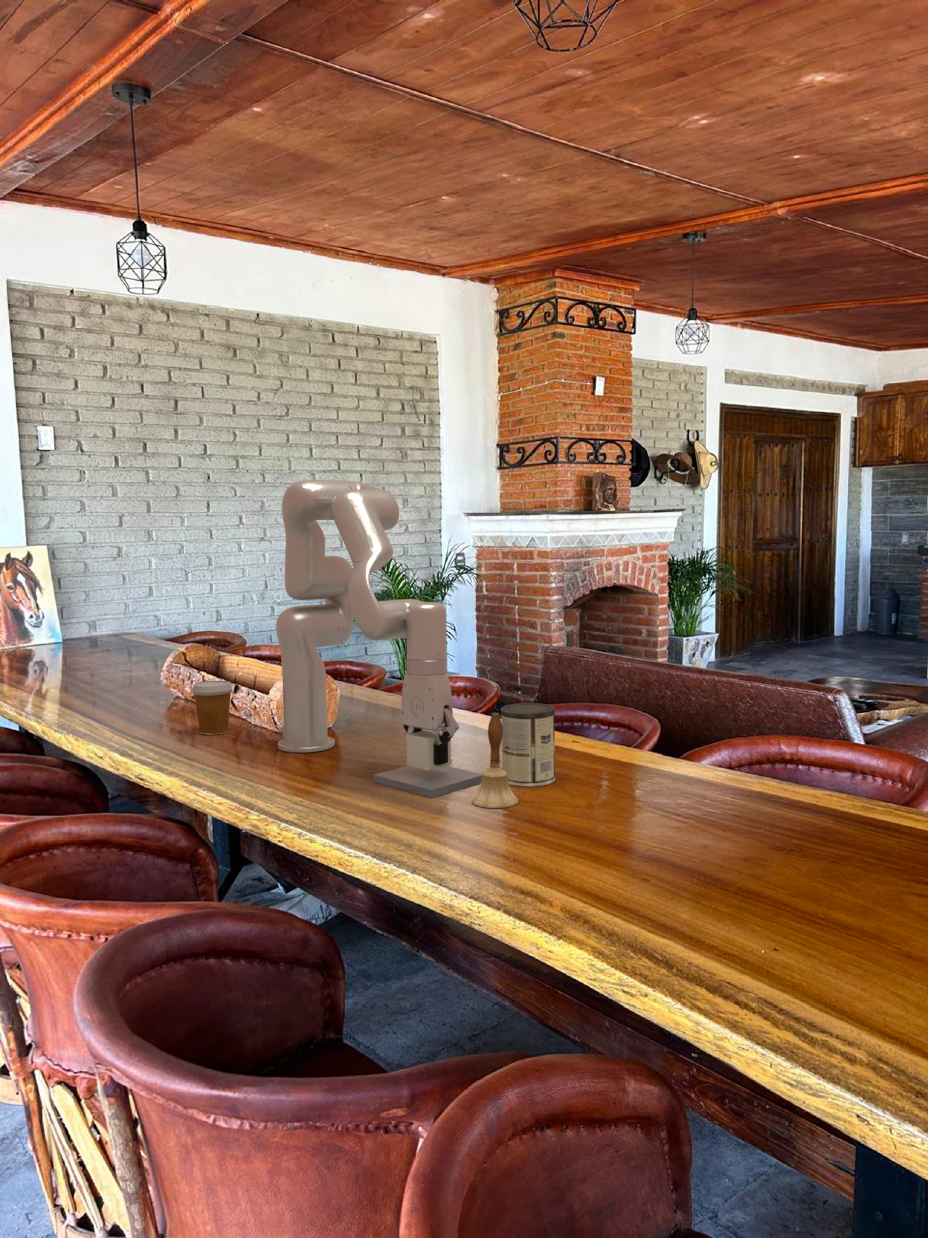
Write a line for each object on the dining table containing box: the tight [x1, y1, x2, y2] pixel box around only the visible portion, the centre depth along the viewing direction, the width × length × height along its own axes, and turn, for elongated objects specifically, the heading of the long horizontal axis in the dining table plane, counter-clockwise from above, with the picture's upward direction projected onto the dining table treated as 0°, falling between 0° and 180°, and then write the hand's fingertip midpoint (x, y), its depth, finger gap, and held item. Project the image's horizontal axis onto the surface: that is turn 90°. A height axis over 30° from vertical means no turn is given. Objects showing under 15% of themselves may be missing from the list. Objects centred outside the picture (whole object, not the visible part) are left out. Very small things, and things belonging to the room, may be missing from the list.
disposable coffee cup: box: [191, 680, 233, 734], centre depth 226 cm, size 10×10×12 cm
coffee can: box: [500, 702, 556, 788], centre depth 180 cm, size 10×10×14 cm
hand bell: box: [471, 712, 519, 809], centre depth 166 cm, size 8×8×16 cm
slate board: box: [373, 765, 482, 799], centre depth 180 cm, size 16×14×2 cm
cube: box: [405, 729, 452, 771], centre depth 180 cm, size 6×6×6 cm
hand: (428, 760), depth 180 cm, fingers closed on cube, 6 cm apart
